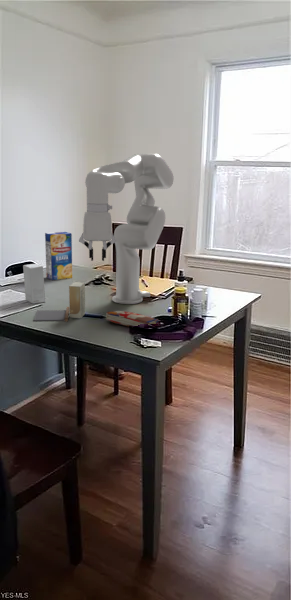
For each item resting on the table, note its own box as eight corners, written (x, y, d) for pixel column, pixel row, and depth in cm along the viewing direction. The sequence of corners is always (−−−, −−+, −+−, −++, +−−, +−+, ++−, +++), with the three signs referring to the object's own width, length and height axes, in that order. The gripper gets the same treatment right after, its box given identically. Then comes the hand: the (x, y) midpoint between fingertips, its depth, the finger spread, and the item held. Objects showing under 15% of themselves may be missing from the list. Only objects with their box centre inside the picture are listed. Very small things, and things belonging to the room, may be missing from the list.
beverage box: (46, 277, 241) (44, 233, 235) (66, 275, 247) (65, 231, 241) (51, 280, 235) (50, 234, 229) (72, 277, 241) (71, 233, 235)
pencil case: (124, 317, 181) (124, 304, 180) (163, 329, 168) (163, 316, 167) (101, 323, 174) (101, 309, 172) (141, 337, 161) (141, 322, 159)
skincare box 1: (45, 302, 197) (44, 266, 193) (31, 304, 194) (30, 267, 190) (38, 297, 204) (36, 262, 200) (24, 299, 201) (22, 264, 197)
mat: (66, 311, 186) (66, 310, 186) (64, 320, 175) (64, 319, 174) (37, 311, 185) (37, 310, 185) (33, 321, 173) (33, 320, 173)
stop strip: (69, 310, 187) (69, 306, 187) (67, 321, 174) (67, 317, 173) (66, 310, 187) (66, 306, 187) (64, 321, 174) (64, 317, 173)
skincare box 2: (74, 312, 184) (74, 281, 181) (85, 313, 183) (85, 282, 180) (69, 317, 178) (68, 285, 175) (80, 318, 177) (80, 286, 174)
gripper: (120, 208, 176) (119, 258, 180) (74, 207, 174) (75, 258, 179) (121, 210, 168) (120, 262, 173) (73, 209, 167) (74, 262, 172)
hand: (97, 259), depth 176 cm, fingers open, 3 cm apart
